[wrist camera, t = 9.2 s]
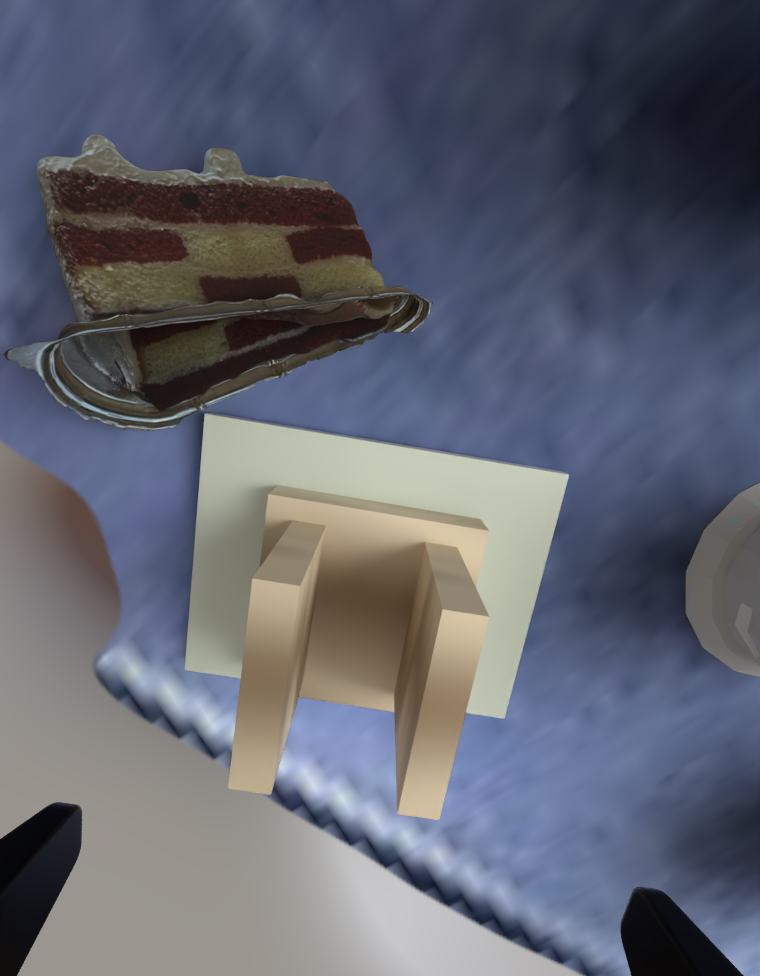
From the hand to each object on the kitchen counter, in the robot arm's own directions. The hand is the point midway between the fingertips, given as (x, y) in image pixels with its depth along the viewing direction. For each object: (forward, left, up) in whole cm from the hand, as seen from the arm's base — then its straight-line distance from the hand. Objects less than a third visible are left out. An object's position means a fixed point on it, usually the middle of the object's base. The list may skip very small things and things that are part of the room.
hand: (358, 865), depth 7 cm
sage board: (0, 0, -12) cm, 12 cm away
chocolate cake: (+7, -10, -12) cm, 17 cm away
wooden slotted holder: (0, +1, -11) cm, 11 cm away
